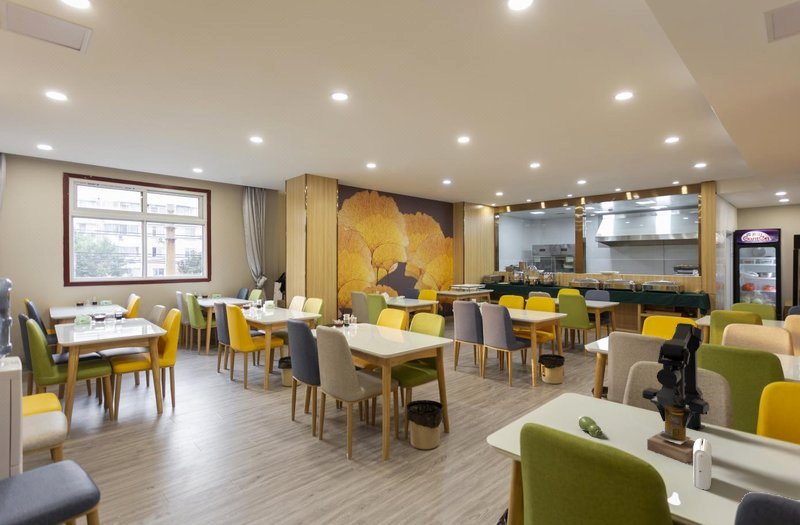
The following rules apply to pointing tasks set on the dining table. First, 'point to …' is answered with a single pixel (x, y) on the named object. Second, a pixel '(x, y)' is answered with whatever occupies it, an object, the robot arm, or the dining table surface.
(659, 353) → the robot arm
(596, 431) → the pear
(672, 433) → the condiment
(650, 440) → the brown flat box
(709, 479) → the photo printer
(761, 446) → the dining table surface
